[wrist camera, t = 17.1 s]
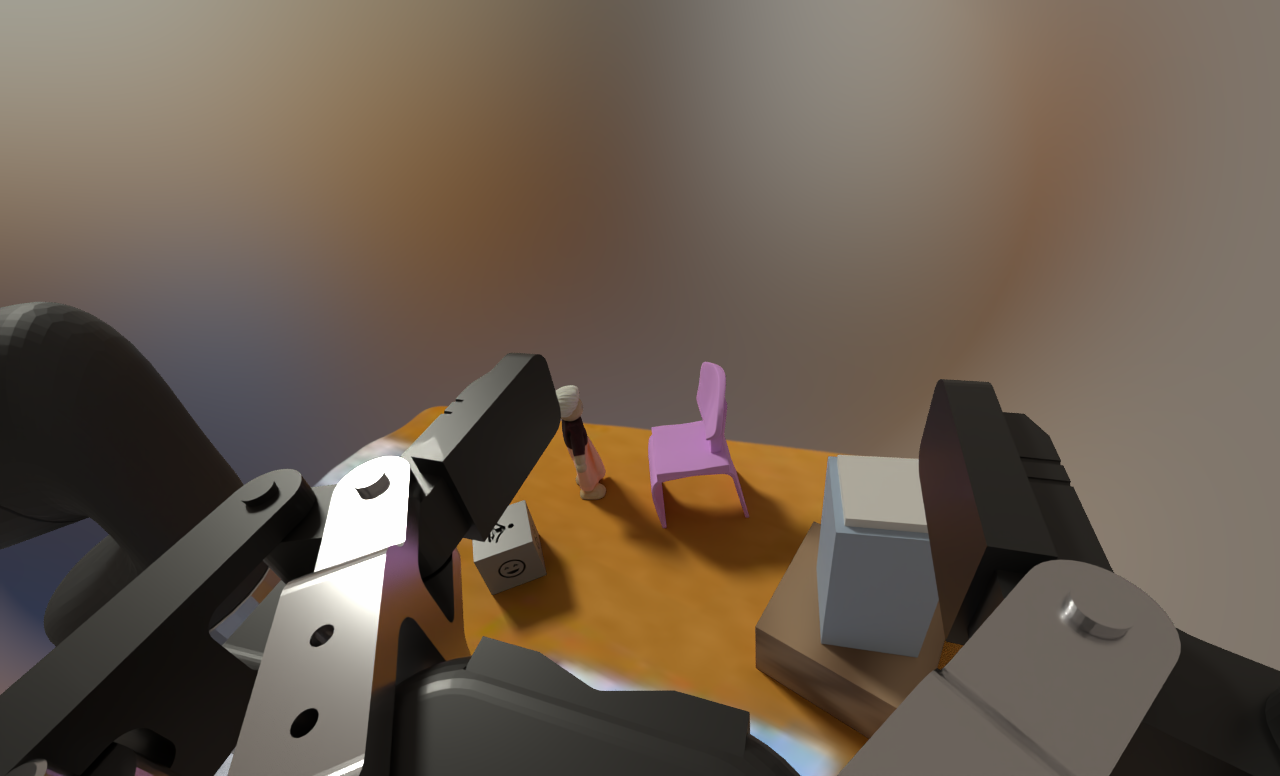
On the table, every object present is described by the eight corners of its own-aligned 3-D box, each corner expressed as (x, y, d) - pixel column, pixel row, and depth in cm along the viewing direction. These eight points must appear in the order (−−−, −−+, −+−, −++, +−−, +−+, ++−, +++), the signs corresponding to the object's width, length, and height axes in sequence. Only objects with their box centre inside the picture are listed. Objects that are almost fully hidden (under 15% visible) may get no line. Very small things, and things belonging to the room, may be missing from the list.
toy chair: (652, 474, 53) (631, 357, 45) (734, 463, 53) (729, 343, 44) (658, 538, 46) (635, 415, 38) (751, 526, 46) (750, 399, 37)
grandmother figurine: (620, 497, 51) (597, 400, 44) (586, 513, 50) (556, 417, 43) (593, 454, 57) (568, 363, 50) (562, 468, 56) (532, 376, 49)
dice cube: (488, 551, 48) (471, 518, 45) (538, 533, 49) (524, 500, 46) (492, 595, 44) (473, 562, 41) (547, 575, 45) (532, 541, 42)
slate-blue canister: (821, 643, 31) (837, 524, 25) (816, 567, 36) (829, 449, 29) (917, 657, 30) (962, 535, 23) (900, 577, 34) (934, 454, 27)
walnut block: (755, 669, 36) (755, 626, 33) (809, 566, 42) (813, 521, 39) (903, 762, 31) (922, 723, 27) (941, 629, 37) (960, 583, 33)
